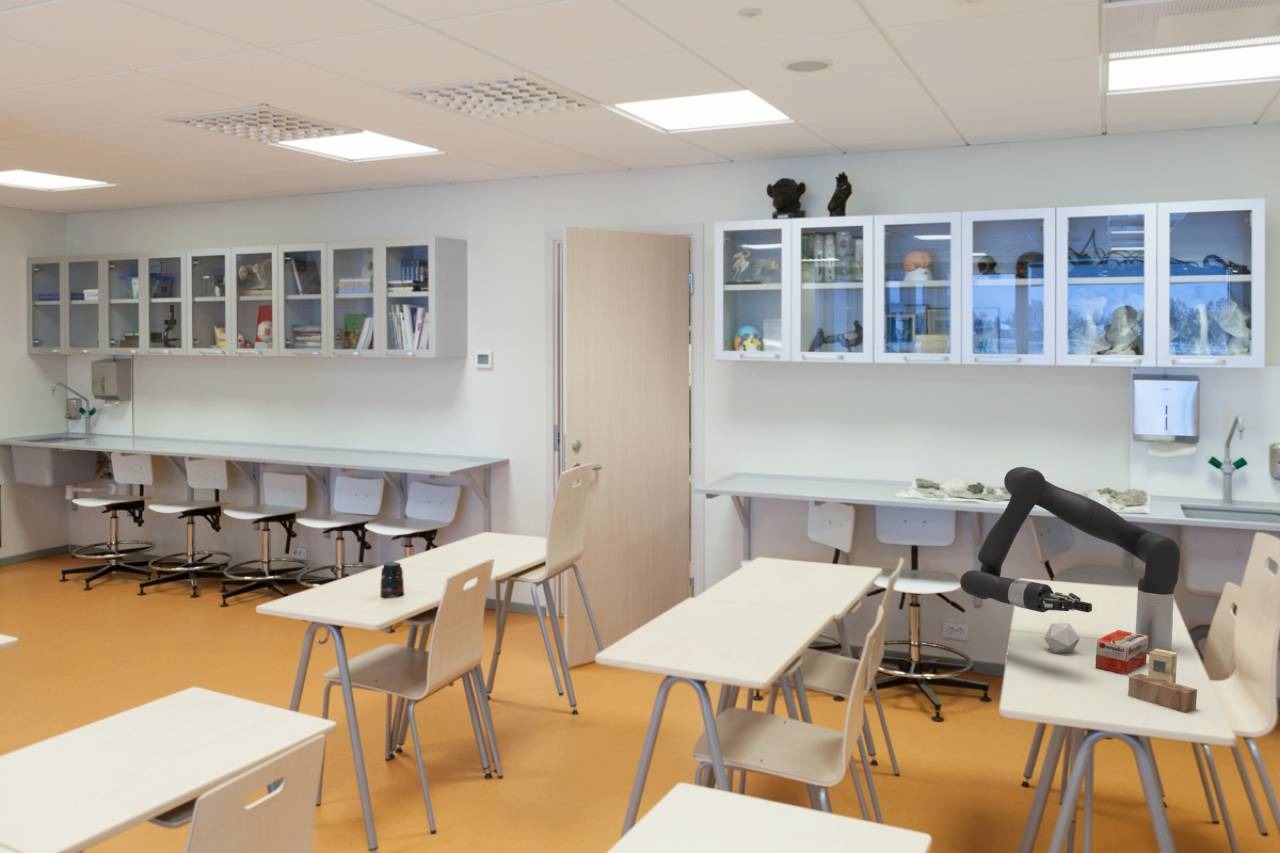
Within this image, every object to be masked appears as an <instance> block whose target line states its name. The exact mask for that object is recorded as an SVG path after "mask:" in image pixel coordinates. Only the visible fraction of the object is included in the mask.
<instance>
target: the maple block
mask: <svg viewBox="0 0 1280 853" xmlns="http://www.w3.org/2000/svg"><path fill="white" fill-rule="evenodd" d="M1148 655H1149V656H1148V671H1147V672H1148V673H1147V675H1148V676H1151V677H1155V678H1158V679H1162V680H1165V681H1169V682H1173V683H1176V684H1177V681H1176V680H1177V665H1178V663H1177V662H1178V652H1174V651H1171V652H1170V651H1166V650H1161V649H1155V650H1153V651H1151V652H1150V653H1148Z"/></svg>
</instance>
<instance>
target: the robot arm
mask: <svg viewBox="0 0 1280 853" xmlns="http://www.w3.org/2000/svg"><path fill="white" fill-rule="evenodd" d="M1003 482H1004V487H1005V490H1006V491H1007V493H1009V495H1010V498H1009V501H1008V503H1007V505H1006V508H1005V510H1004V511H1003V513H1002V514H1001V515H1000V517H999V519H998V520H997V521H996V522H995V524H994V525H993V526H992V527H991V529H990V530H989V532H988V534H987V535H986V536H985V539H984V541H983V543H982V545H981V547H980V549H979V551H978V554H977V560H978V561H979V563H981V564H980V570H975V569H972V570H971V569H970V570H968V571H965V572H964V573H963V574H962V576H961V578H960V582H959V585H960V587H961V589H962V591H963V592H965V593H966V594H967V595H970V596H972V597H975V598H977V599H980V600H987V599H991V600H994V601H997V602H999V603H1003V604H1007V605H1012V606H1015V607H1016V608H1017V607H1018V608H1021V609H1026V610H1029V611H1034V612H1039V613H1046V612H1048V611H1054V612H1055V611H1058V612H1060V611H1061V612H1069V611H1072V612H1074V611H1079V612H1084V613H1090V612H1092V611H1093V604H1092V603H1091V602H1086V601H1082V599H1081V598H1080V597H1079V596H1078V595H1076V594H1074V593H1072V592H1070V593H1068V594H1064V593H1062V592H1059V591H1055V592H1054V591H1053V589H1052V587H1051V586H1050V585H1048V584H1044V583H1041V582H1035V581H1031V580H1030V581H1029V580H1026V579H1015V578H1010V577H1003V576H1001V574H1002V568H1003V564H1004V562H1005V561H1006V558H1007V555H1008V553H1009V551H1010V549H1011V547H1012V545H1013V543H1014V541H1015V539H1016V536H1017V535H1018V534H1019V532H1020V529H1021V527H1022V526H1023V524H1024V522H1026V519H1027V518H1028V516H1029V514H1030V513H1031V511H1032V510H1033V508H1035V506H1038V507H1041V508H1042V509H1043V510H1046V511H1047V512H1048V513H1051V514H1052V515H1053V516H1055V517H1057V518H1058V519H1060V520H1062V521H1063V522H1065V523H1067V524H1068V525H1071V526H1072V527H1073V528H1075V529H1077V530H1079V531H1081V532H1083V533H1085V534H1087V535H1089V536H1091V537H1093V538H1096V539H1099V540H1100V541H1104V542H1107V543H1111V544H1114V545H1115V546H1118V547H1119V548H1122V549H1123V550H1125V551H1127V552H1128V553H1130V554H1131V555H1133V557H1135V558H1137V559H1138V560H1140V561H1141V562H1142V563H1145V565H1144V566H1145V569H1144V575H1143V577H1141V578H1139V579H1138V581H1137V595H1136V596H1137V599H1136V615H1135V617H1136V619H1135V620H1136V621H1135V632H1134V633H1135V634H1140V635H1145V636H1148V646H1147V654H1149V653H1150V652H1151V651H1153V650H1155V649H1161V650H1166V651H1170V652H1172V646H1173V645H1172V643H1173V642H1172V640H1173V625H1174V624H1173V623H1174V619H1173V618H1174V616H1173V615H1174V604H1175V603H1174V600H1175V598H1174V597H1175V588H1176V586H1177V584H1178V581H1179V573H1180V565H1181V563H1180V562H1181V550H1180V547H1179V544H1178V543H1177V542H1176V541H1175V540H1174V539H1172V538H1170V537H1168V536H1165V535H1163V534H1160V533H1157V532H1154V531H1151V530H1148V529H1145V528H1142V527H1140V526H1137V525H1135V524H1133V523H1130V522H1129V521H1128V520H1126V519H1124V518H1123V517H1122V516H1120V515H1119V514H1118V513H1116V512H1115V511H1114V510H1112V509H1110V508H1109V507H1107V506H1106V505H1104V504H1102V503H1100V502H1099V501H1096V500H1094V499H1091V498H1089V497H1087V496H1085V495H1082V494H1080V493H1077V492H1074V491H1070V490H1068V489H1065V488H1062V487H1059V486H1057V485H1054V484H1053V483H1051V482H1049V481H1048V480H1046V478H1045V476H1044V474H1042V472H1041V471H1039V470H1037V469H1035V468H1031V467H1026V466H1018V467H1014V468H1012V469H1010V470H1009V471H1007V472H1006V474H1005V476H1004V480H1003Z"/></svg>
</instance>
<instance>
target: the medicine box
mask: <svg viewBox="0 0 1280 853" xmlns="http://www.w3.org/2000/svg"><path fill="white" fill-rule="evenodd" d="M1147 646H1148V636H1145V635H1140V634H1135V632H1129V631H1126V630H1121V629H1118V630H1115V631H1113V632H1111V633H1109V634H1107V635H1105V636H1103V637H1100V638H1098V639H1097V641H1096V649H1095V650H1096V653H1095V668H1096V669H1098V670H1104V671H1111V672H1114V673H1116V674H1120V675H1124V676H1127V675H1129V674H1130V673H1132V672H1134V671H1136V670H1138V669H1141V668H1142V667H1143V666H1145V665H1147V654H1148V653H1147Z"/></svg>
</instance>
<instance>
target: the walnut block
mask: <svg viewBox="0 0 1280 853" xmlns="http://www.w3.org/2000/svg"><path fill="white" fill-rule="evenodd" d="M1127 692H1128V693H1127V696H1128V697H1131V698H1133V699H1138V700H1142V701H1145V702H1148V703H1150V704H1151V703H1152V704H1154V705H1158V706H1161V707H1164V708H1168V709H1171V710H1174V711H1176V712H1177V711H1178V712H1180V713H1185V714H1186V713H1189V712H1191V711H1194V710H1196V709H1197V696H1198V689H1197V688H1194V687H1191V686H1187V685H1183V684H1179V683H1177V682H1176V683H1173V682H1169V681H1165V680H1162V679H1158V678H1155V677H1151V676H1148V674H1145V673H1144V674H1143V673H1137V674H1134V675H1131V676H1128V690H1127Z"/></svg>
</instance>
